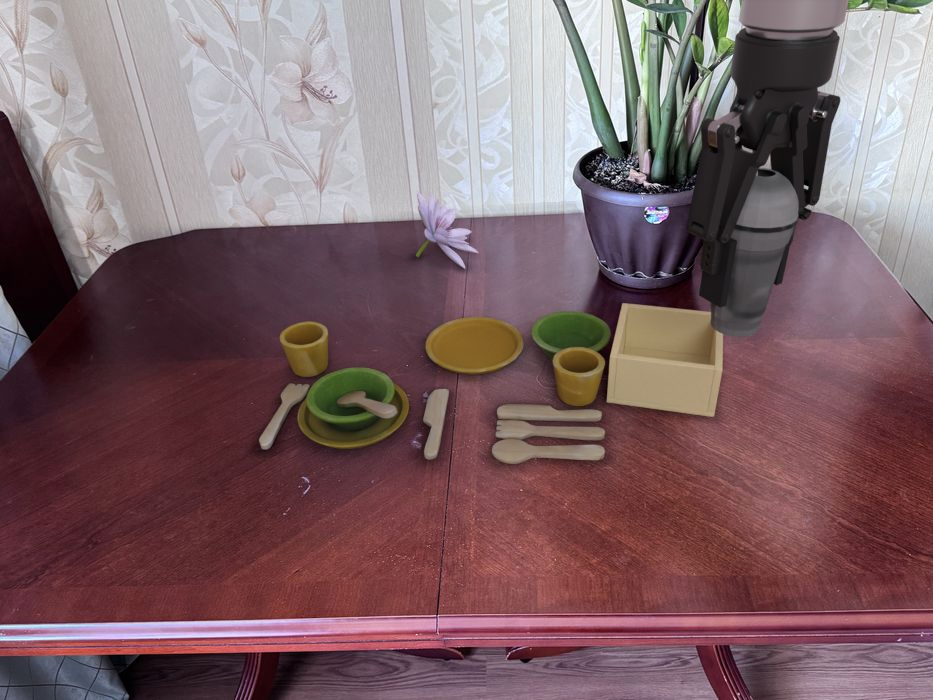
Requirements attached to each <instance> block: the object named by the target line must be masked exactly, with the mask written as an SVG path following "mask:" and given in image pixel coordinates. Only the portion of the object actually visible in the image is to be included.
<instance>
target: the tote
mask: <svg viewBox="0 0 933 700" xmlns="http://www.w3.org/2000/svg"><path fill="white" fill-rule="evenodd" d="M710 321H711V311H704V310H694V309H685V308H675V307H666V306H665V307H664V306H656V305H646V304H637V303H636V304H635V303H626V302H625V303H624V302H622V303H621V308H620V312H619V316H618V320H617V325H616V329H615V333H614V338H613V342H612V347H611V351H610V355H609V362H608V363H609V364H608V376H607V377H608V378H607V390H606V391H607V394H606V403H608V404H616V405H622V406H623V405H624V406H630V407H631V406H632V407H638V408H644V409H652V410H659V411H668V412H674V413H681V414H688V415H695V416H701V417H702V416H704V417H709V418H714V417H715V413H716V409H717V402H718V397H719V391H720V386H721V382H722V381H721V380H722V376H723V366H724V365H723V360H724V358H723V357H724V354H723V353H724V334H722V333H720V332H718V331H716V330H715V329H714V328H713V327H712V326H711V322H710Z"/></svg>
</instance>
